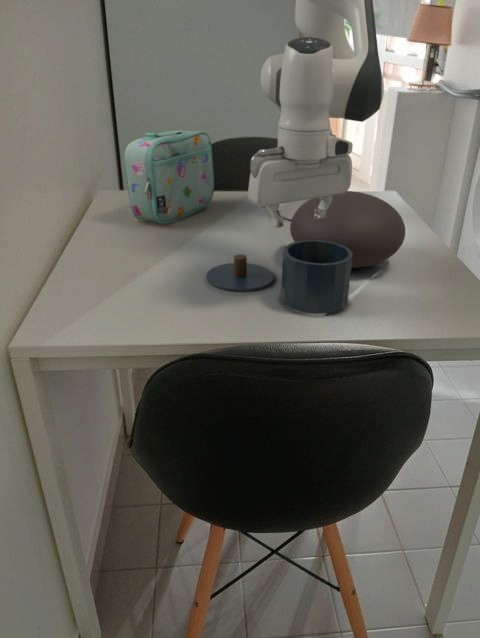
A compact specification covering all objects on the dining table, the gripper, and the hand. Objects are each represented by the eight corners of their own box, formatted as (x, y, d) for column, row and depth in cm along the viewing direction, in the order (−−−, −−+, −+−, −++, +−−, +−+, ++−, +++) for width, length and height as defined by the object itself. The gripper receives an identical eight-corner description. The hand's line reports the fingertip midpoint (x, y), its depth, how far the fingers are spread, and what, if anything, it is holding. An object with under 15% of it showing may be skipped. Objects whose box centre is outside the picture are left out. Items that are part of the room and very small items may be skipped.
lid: (231, 263, 132) (231, 240, 129) (285, 277, 126) (286, 253, 123) (193, 284, 122) (192, 259, 119) (250, 300, 116) (250, 275, 113)
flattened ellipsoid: (408, 251, 141) (418, 187, 134) (390, 292, 121) (400, 219, 113) (306, 236, 148) (310, 174, 141) (272, 273, 128) (275, 203, 120)
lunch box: (157, 232, 148) (151, 141, 137) (124, 224, 152) (116, 135, 141) (218, 205, 168) (217, 124, 157) (188, 199, 172) (185, 120, 162)
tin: (301, 282, 124) (303, 235, 119) (357, 297, 118) (363, 249, 113) (269, 304, 114) (270, 254, 109) (329, 322, 109) (334, 270, 104)
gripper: (261, 154, 97) (259, 237, 104) (360, 143, 107) (352, 219, 114) (241, 146, 102) (241, 226, 109) (338, 136, 111) (331, 210, 118)
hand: (298, 222), depth 111 cm, fingers open, 8 cm apart
